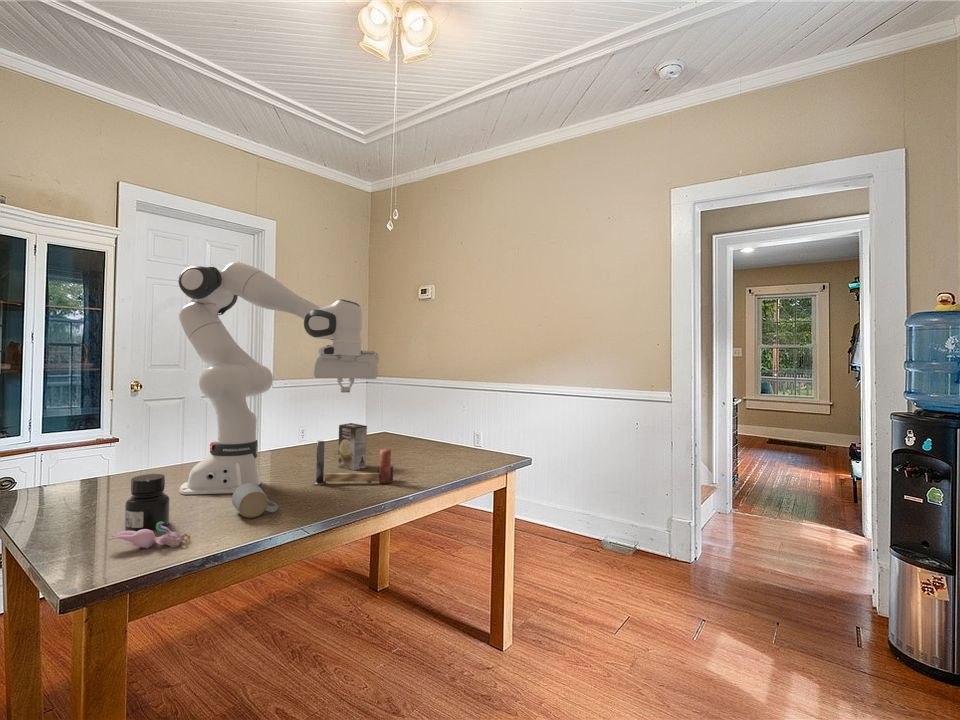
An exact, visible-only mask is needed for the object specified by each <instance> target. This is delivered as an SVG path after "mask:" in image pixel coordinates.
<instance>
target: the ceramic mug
mask: <svg viewBox="0 0 960 720" xmlns="http://www.w3.org/2000/svg"><path fill="white" fill-rule="evenodd" d="M231 502H232V505H233V507H234V508H235V510H237V512H238V513H239V514H240V515H241V516H242V517H244V518H247V519H254V518H258V517H259V516H261V515H263V514H264V512H265V511H266V512H269V513H276V512H277V510H278V508H279V506H278V504H277V503H275V502H273V501H271V500H269V499H268V496H267V495H266V493H265V492H264V490H263V489H262V487H260V486H259V485H256V484H254V483H246V484H243V485H241V486H239V487H238V488H237V489H236V490H235V492H234V493H232V497H231Z"/></svg>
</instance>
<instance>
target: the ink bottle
mask: <svg viewBox="0 0 960 720" xmlns="http://www.w3.org/2000/svg"><path fill="white" fill-rule="evenodd" d="M165 488H166V475H165V474H162V473H150V474H149V473H147V474H141V475H137V476H134V477H132V478H131V479H130V494H131V496H130V498H128V499H127V500H126V502H125V505H124V506H125V509H124V512H125V513H124V516H125V517H124V519H125V520H124V527H125V531H136V532H137V531H139V530H142V529H148V530H151V531H153V530H157V529H156V524H157V523H158V522H165V523H163V524H162V526H164V527H166V525H169V522H170V496H169V495H168V494H166V493H165Z"/></svg>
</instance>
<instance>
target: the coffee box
mask: <svg viewBox="0 0 960 720" xmlns="http://www.w3.org/2000/svg"><path fill="white" fill-rule="evenodd" d="M367 430H368V426H367V425H364V424H359V423H353V422H350V423H343V424H339V425H338V453H337V454H338V455H337V467H339V468H342V469H346V470H350V469H351V471H358V470H361V469H366V467H367V466H366V465H367V464H366V463H367V438H368V437H367V435H368V434H367V433H368V431H367ZM360 468H361V469H360ZM357 469H358V470H357Z"/></svg>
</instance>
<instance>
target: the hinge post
mask: <svg viewBox="0 0 960 720" xmlns="http://www.w3.org/2000/svg"><path fill="white" fill-rule="evenodd" d="M315 457H316V458H315V460H316V465H315V471H316V472H315V481H313V482H312V483H313V486H316V485H321V486H325V485H326V484H327V482H324V481H325V440H318V441H317V440H316V456H315Z"/></svg>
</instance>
